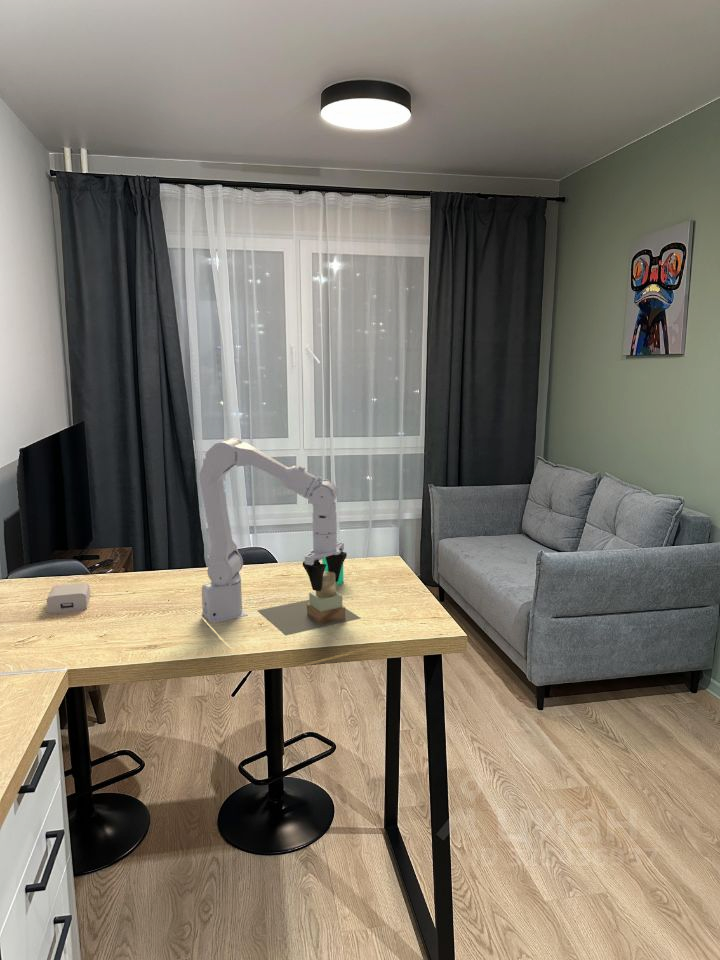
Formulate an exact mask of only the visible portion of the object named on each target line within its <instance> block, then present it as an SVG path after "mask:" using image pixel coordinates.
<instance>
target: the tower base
mask: <svg viewBox="0 0 720 960" xmlns="http://www.w3.org/2000/svg"><path fill="white" fill-rule="evenodd" d="M345 608H346V606H344V605H343V604H342V607H341V608H336V609H331V610H327V611H322V612H320V611H319V610H317V609H316V608H314V607H313V606H312V605H310V604H309V603H308V604H307V616H309V617H310V618H311V619H313V620H314V621H315V622H317V623H318V624H319V625H321V624H325V623H330V622H334V621H339V620H343V619H345Z"/></svg>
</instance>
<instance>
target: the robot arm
mask: <svg viewBox="0 0 720 960" xmlns="http://www.w3.org/2000/svg"><path fill="white" fill-rule="evenodd" d="M235 466H236V467H246V466H252V467H254V468H256V469H259V470H260V471H262V472H265V473H267V474H270V475H271V476H273V477H275V478H278V479H280V480H281V482H282V484H283V487H284V488H285V489H287V490H290V491H291V492H293V493H295V494H297V495H299V496H301V497H303V498H304V499H307V500H309V501H310V503H311V504H312V549H311V550H310V551H309V552H308V554H306V555H304V561H302V567H303V568H304V570H305V571H306V573H307V576H308V578H309V581H310V585H311V589H312V590H313V591H321V589H322V580H323V573H324V570H325V567H326V564H322V563H321V562H320V560H321V561H322V559H323V558H326V561H327V565H328V571H330V572H334V573H335V582H338V580H339V575H340V571H341V567H342V565H343V566H344V563H345V559H346V558H347V555H348V554H347V552H346V551H344V550H345V542H344V541H343V542H342V541H338V539H337V535H338V533H337V531H338V530H337V526H338V525H337V522H338V521H337V512H336V510H337V506H336V503H337V502H336V499H337V497H338V493H339V492H338V488H337V485H336V484H335V483H334V482H332V481H331V480H330V479H323V477H322V476H315V475H314V474H312V473H310V472H308V471H306V470H305V469H306V467H304V466H302V465H300V466H297V465H292V466H289V467H288V466H287V465H285V464H283V463H282V462H280V461H278V460H276V459H275V458H273V457H271V456H269V455H268V454H266V453H264V452H263V451H261V450H259V449H258V448H256V447H254V446H253V445H251V444H250V443H247V442H243V441H241V440H240V439H238V438H236V437H231V438H227V439H225V440H224V441H219V442H217V443H214V444H213V445H212V446H211V447H210V448H209V449H208V450H207V451H206V452H205V458H204V460H203V463H202V466H201V468H200V472H199V474H198V475H199V476H198V478H199V483H200V488H201V494H202V499H203V501H202V502H203V507H204V511H205V517H206V523H207V529H208V534H209V539H210V551H209V554H208V560H209V561H208V567H207V576H208V578H209V580H210V581H211V582H209V583H206V584H203V585H202V587H201V604H202V605H201V606H202V607H201V608H202V612H201V614H202V615H203V616H204V617H205V618H206V619H207V620H208V621H209V622H210V623H212V624H213V623H218V622H223V621H228V620H233V619H237V618H242V617H247V616H248V615H249V614H248V613H247V612H246V611H245V610H244V609H243V601H242V599H243V598H242V597H243V595H242V577H241V575H240V571H241V570H242V569H243V566H244V560H243V557H242V555H241V554H240V552H239V550H238V546H237V544H236V542H235V541H234V540H233V536H232V528H231V525H230V518H229V517H230V516H229V513H228V506H227V505H228V504H227V500H226V494H225V488H224V482H223V479H224V478H225V476H226V475H227V474H228V472H229V471H230V470H231V469H232V468H233V467H235ZM341 551H343V552H341Z"/></svg>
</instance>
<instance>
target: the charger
mask: <svg viewBox="0 0 720 960" xmlns="http://www.w3.org/2000/svg"><path fill="white" fill-rule="evenodd" d="M90 589H91V588H90V584H89V583H88V582H77V583H75V582H74V583H67V584H56V585H54V586H53V587H52V588H51V590H50V592H49V594H48V596H47V597H46V606H47V613H48V614H57V613H67V612H68V613H69V612H76V611H79V612H80V611H85V610H87V607H88V604H89V602H90V598H91V590H90Z"/></svg>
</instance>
